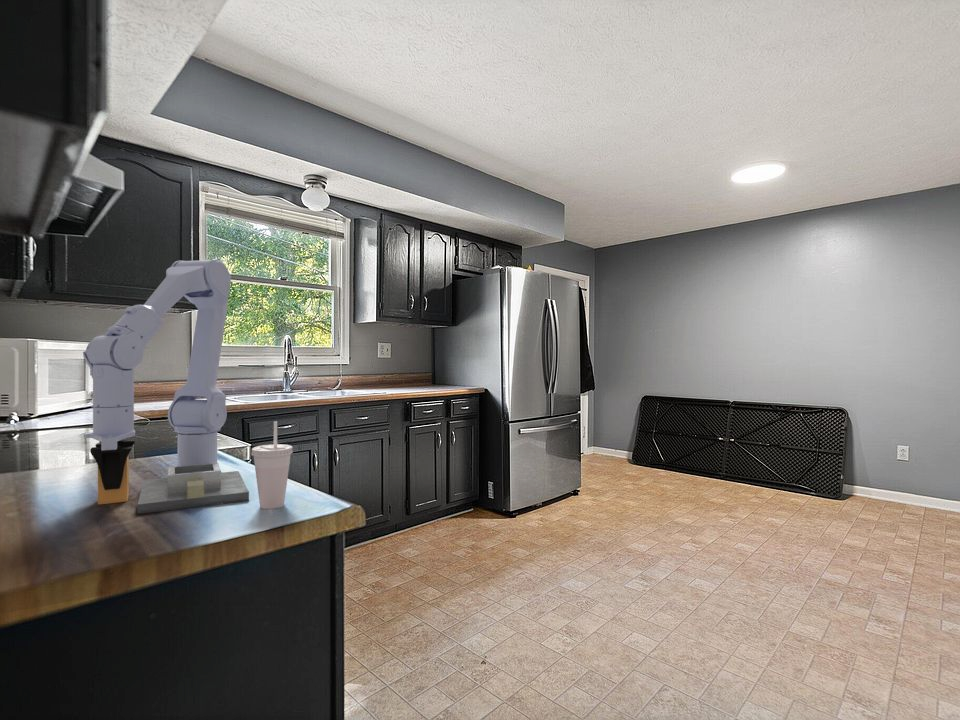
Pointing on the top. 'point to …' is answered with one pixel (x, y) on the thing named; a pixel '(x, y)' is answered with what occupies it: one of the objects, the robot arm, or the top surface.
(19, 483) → the top surface
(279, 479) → the smoothie
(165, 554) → the top surface
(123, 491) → the wedge pin
